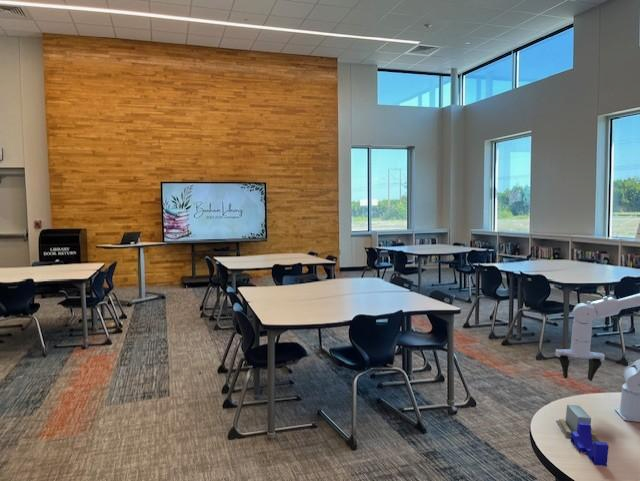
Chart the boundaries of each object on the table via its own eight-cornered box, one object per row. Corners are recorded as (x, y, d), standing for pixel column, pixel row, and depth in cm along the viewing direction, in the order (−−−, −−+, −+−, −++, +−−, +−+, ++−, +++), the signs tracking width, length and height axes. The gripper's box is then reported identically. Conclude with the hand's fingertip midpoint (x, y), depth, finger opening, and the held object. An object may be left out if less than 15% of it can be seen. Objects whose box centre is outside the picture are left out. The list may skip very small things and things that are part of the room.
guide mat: (587, 424, 146) (587, 424, 146) (599, 441, 137) (599, 440, 137) (556, 421, 148) (556, 420, 148) (565, 437, 139) (565, 436, 139)
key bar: (589, 437, 138) (591, 418, 138) (576, 436, 139) (578, 417, 138) (577, 423, 146) (579, 405, 146) (565, 423, 147) (567, 404, 146)
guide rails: (586, 425, 146) (587, 422, 145) (596, 438, 138) (596, 435, 138) (559, 422, 147) (559, 419, 147) (566, 435, 139) (566, 431, 139)
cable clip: (570, 441, 137) (572, 421, 136) (586, 442, 137) (588, 422, 136) (588, 465, 125) (590, 443, 125) (606, 466, 125) (608, 445, 124)
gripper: (600, 337, 160) (596, 376, 161) (554, 333, 163) (551, 371, 164) (608, 344, 153) (604, 384, 154) (560, 340, 156) (556, 379, 157)
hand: (577, 378), depth 159 cm, fingers open, 7 cm apart
